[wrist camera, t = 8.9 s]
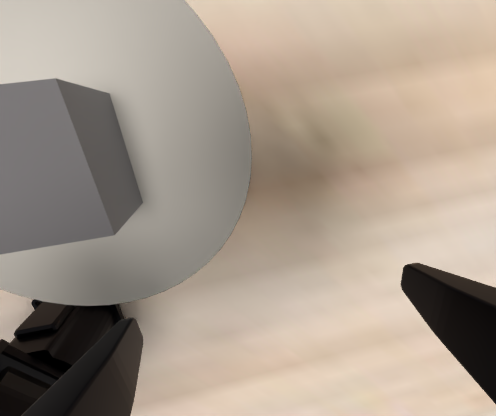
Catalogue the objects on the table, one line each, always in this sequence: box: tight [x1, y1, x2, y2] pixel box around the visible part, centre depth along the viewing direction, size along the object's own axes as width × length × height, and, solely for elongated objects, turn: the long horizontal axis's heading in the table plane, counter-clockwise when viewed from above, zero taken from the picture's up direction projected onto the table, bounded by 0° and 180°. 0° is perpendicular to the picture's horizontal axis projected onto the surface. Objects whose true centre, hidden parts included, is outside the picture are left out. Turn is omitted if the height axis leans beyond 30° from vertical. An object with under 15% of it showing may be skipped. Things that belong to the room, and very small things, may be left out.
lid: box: [0, 0, 252, 306], centre depth 7 cm, size 12×12×3 cm
